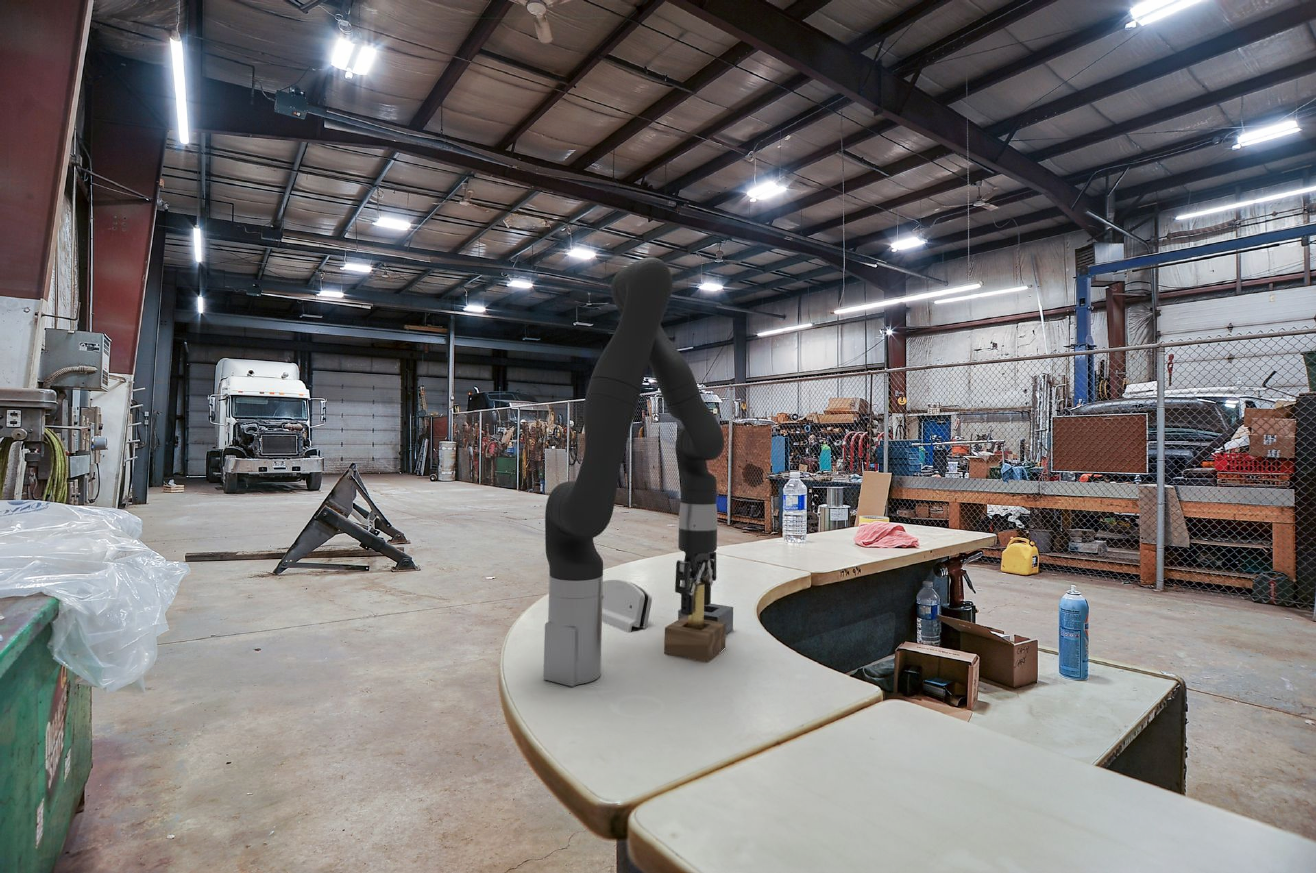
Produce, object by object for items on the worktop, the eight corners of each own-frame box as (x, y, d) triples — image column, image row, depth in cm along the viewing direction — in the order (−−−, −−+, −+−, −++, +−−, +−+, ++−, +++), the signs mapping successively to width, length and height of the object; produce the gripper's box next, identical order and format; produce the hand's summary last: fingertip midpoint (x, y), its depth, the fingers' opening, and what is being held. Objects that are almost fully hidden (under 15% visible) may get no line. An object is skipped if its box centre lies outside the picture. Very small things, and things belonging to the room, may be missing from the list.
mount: (707, 662, 111) (707, 635, 111) (664, 653, 115) (664, 627, 115) (725, 648, 119) (725, 623, 119) (684, 640, 123) (684, 616, 123)
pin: (699, 654, 115) (700, 586, 115) (685, 651, 116) (686, 584, 116) (705, 650, 117) (706, 583, 118) (691, 647, 119) (692, 581, 119)
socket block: (717, 641, 123) (717, 617, 123) (677, 634, 127) (678, 610, 127) (732, 629, 131) (733, 606, 131) (695, 623, 135) (695, 601, 135)
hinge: (584, 614, 140) (597, 572, 142) (599, 618, 143) (611, 576, 145) (629, 632, 127) (642, 586, 130) (645, 636, 130) (658, 590, 132)
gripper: (700, 532, 109) (698, 621, 109) (729, 523, 122) (727, 603, 121) (664, 528, 113) (662, 615, 112) (695, 520, 125) (693, 598, 125)
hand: (696, 609), depth 117 cm, fingers open, 8 cm apart
